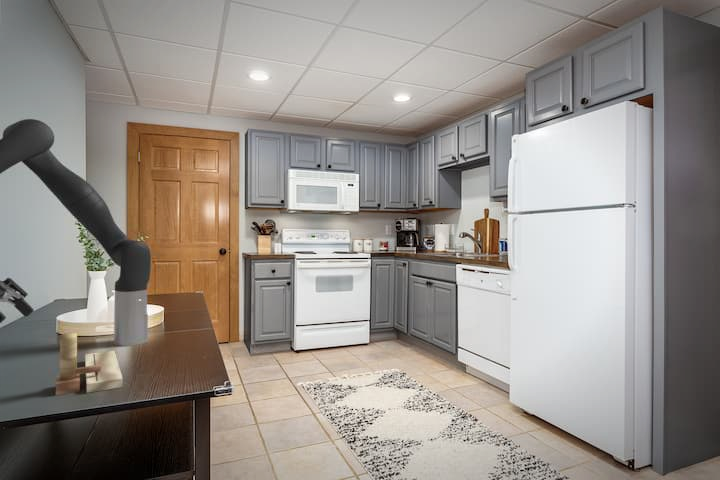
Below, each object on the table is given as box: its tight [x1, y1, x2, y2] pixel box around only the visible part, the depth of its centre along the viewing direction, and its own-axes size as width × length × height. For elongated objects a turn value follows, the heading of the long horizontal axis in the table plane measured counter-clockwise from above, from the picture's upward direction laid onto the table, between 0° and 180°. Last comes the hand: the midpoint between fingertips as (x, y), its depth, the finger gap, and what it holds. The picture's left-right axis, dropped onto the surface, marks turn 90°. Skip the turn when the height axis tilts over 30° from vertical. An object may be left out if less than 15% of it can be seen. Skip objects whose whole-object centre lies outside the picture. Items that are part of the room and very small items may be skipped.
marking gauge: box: [55, 332, 101, 396], centre depth 97 cm, size 8×6×12 cm
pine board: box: [84, 350, 124, 394], centre depth 106 cm, size 7×26×2 cm, turn 34°
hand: (16, 317), depth 94 cm, fingers open, 8 cm apart
